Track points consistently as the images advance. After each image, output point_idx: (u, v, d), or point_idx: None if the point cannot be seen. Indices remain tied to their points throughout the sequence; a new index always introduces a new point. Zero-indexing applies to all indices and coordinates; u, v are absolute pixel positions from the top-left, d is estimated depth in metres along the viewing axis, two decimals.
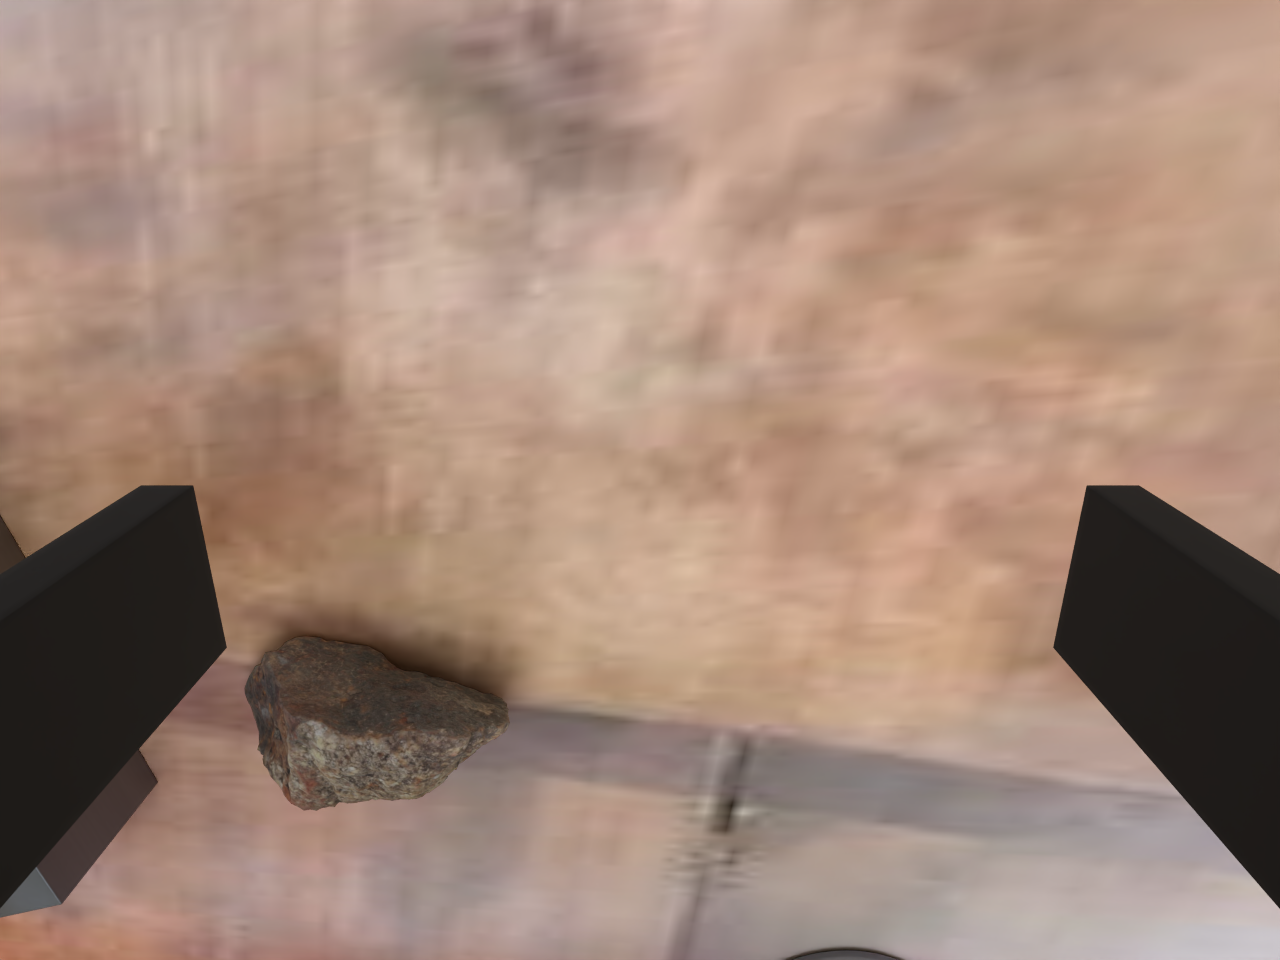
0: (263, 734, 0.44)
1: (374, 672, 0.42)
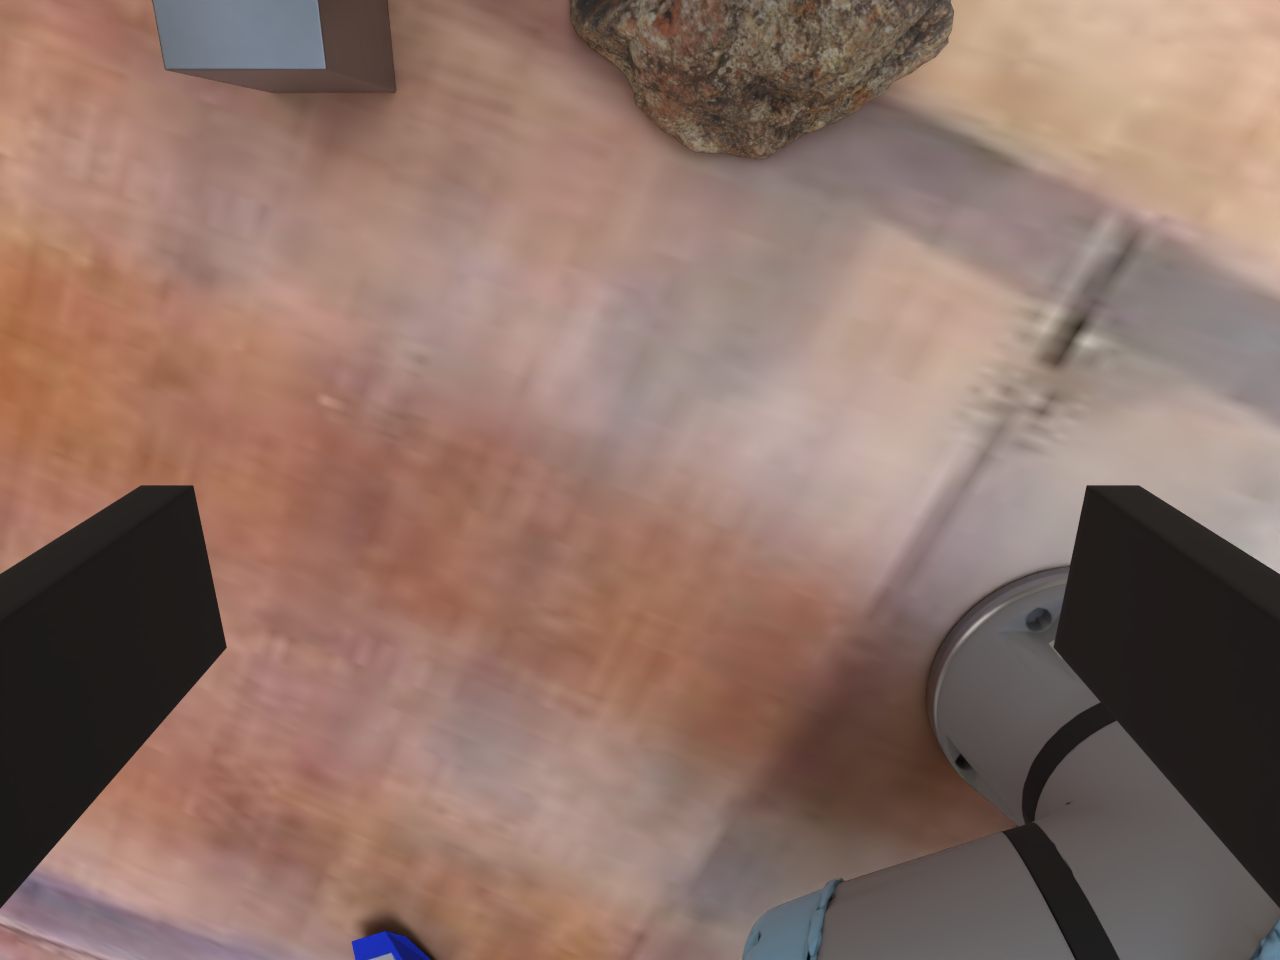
0: (601, 2, 0.33)
1: None
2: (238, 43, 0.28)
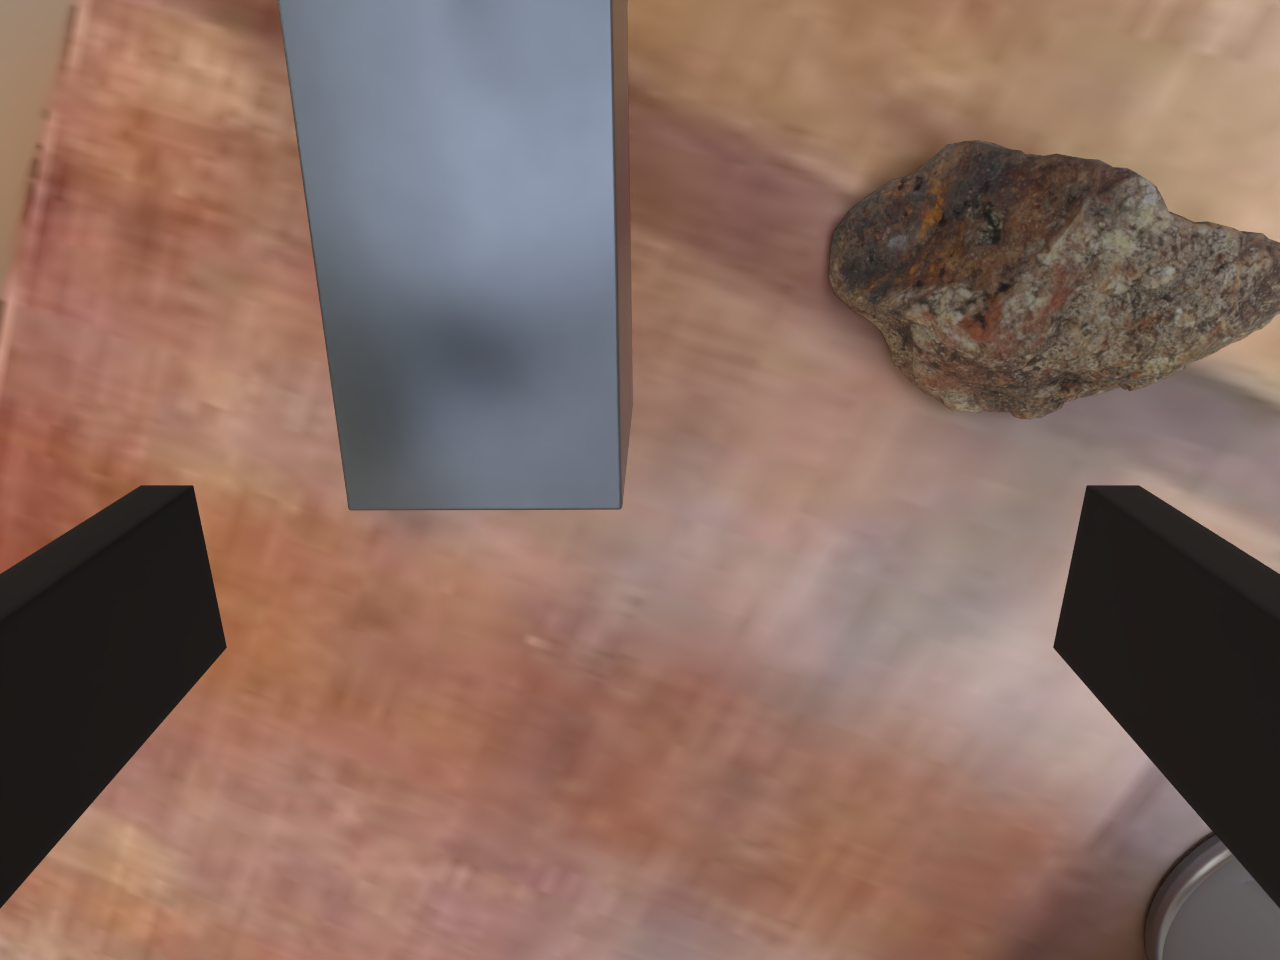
0: (877, 277, 0.31)
1: None
2: (476, 472, 0.16)
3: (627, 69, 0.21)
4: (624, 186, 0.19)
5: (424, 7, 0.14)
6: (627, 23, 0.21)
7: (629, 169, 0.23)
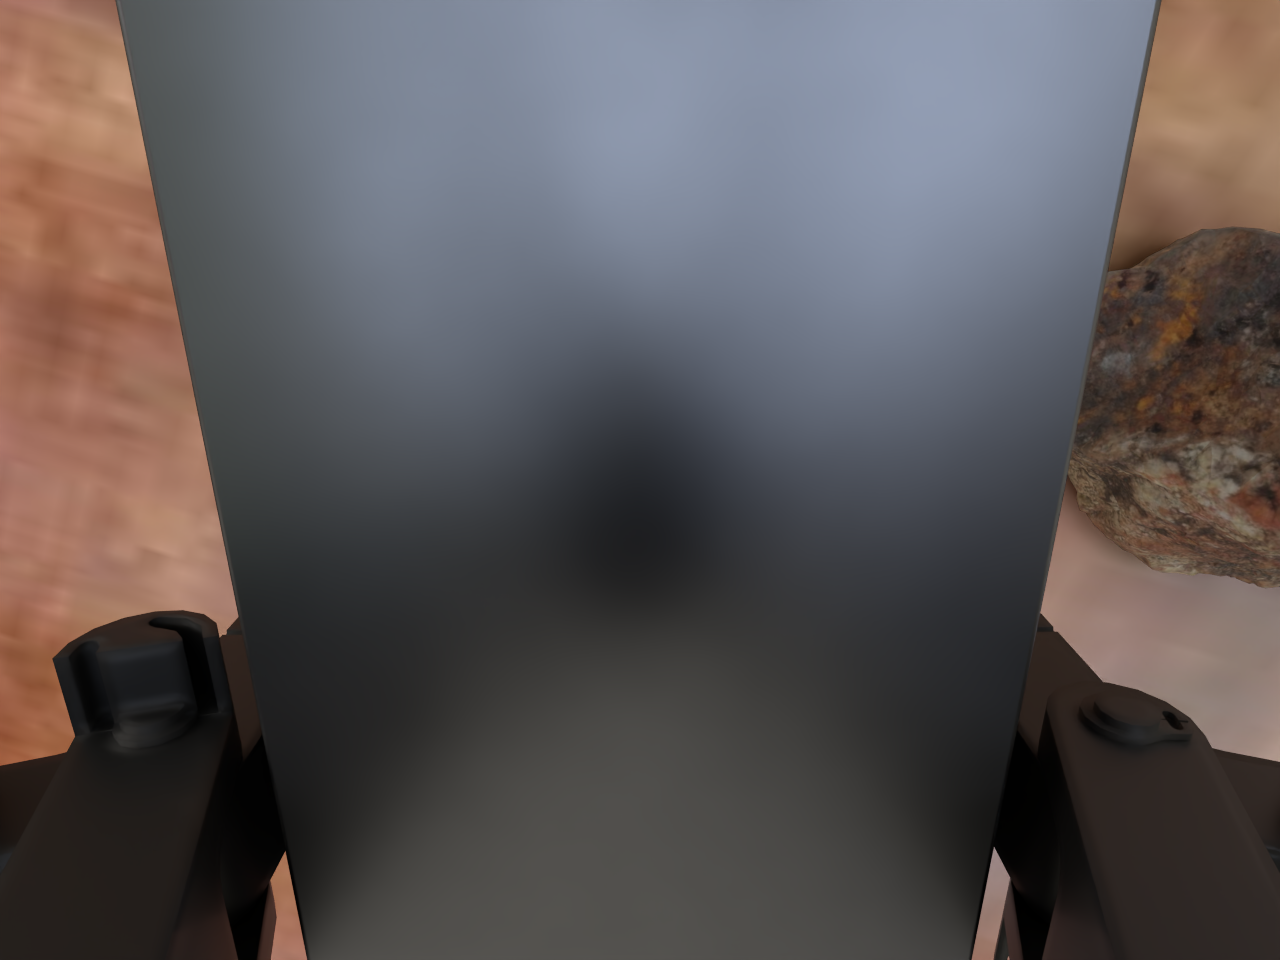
0: (1084, 408, 0.22)
1: None
2: None
3: None
4: None
5: (580, 162, 0.05)
6: None
7: None
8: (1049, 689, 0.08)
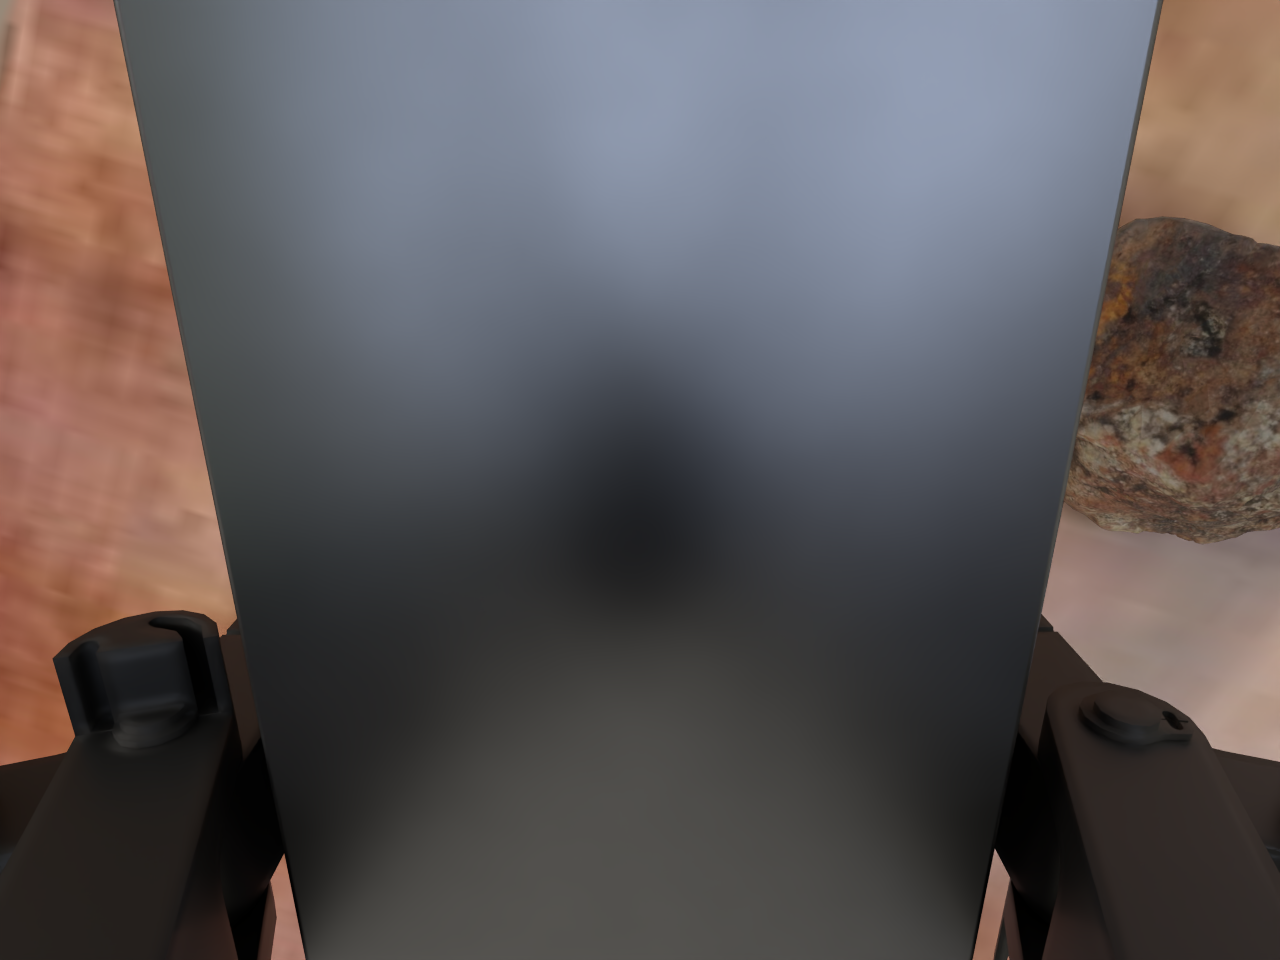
0: None
1: None
2: None
3: None
4: None
5: (580, 160, 0.05)
6: None
7: None
8: (1049, 689, 0.08)
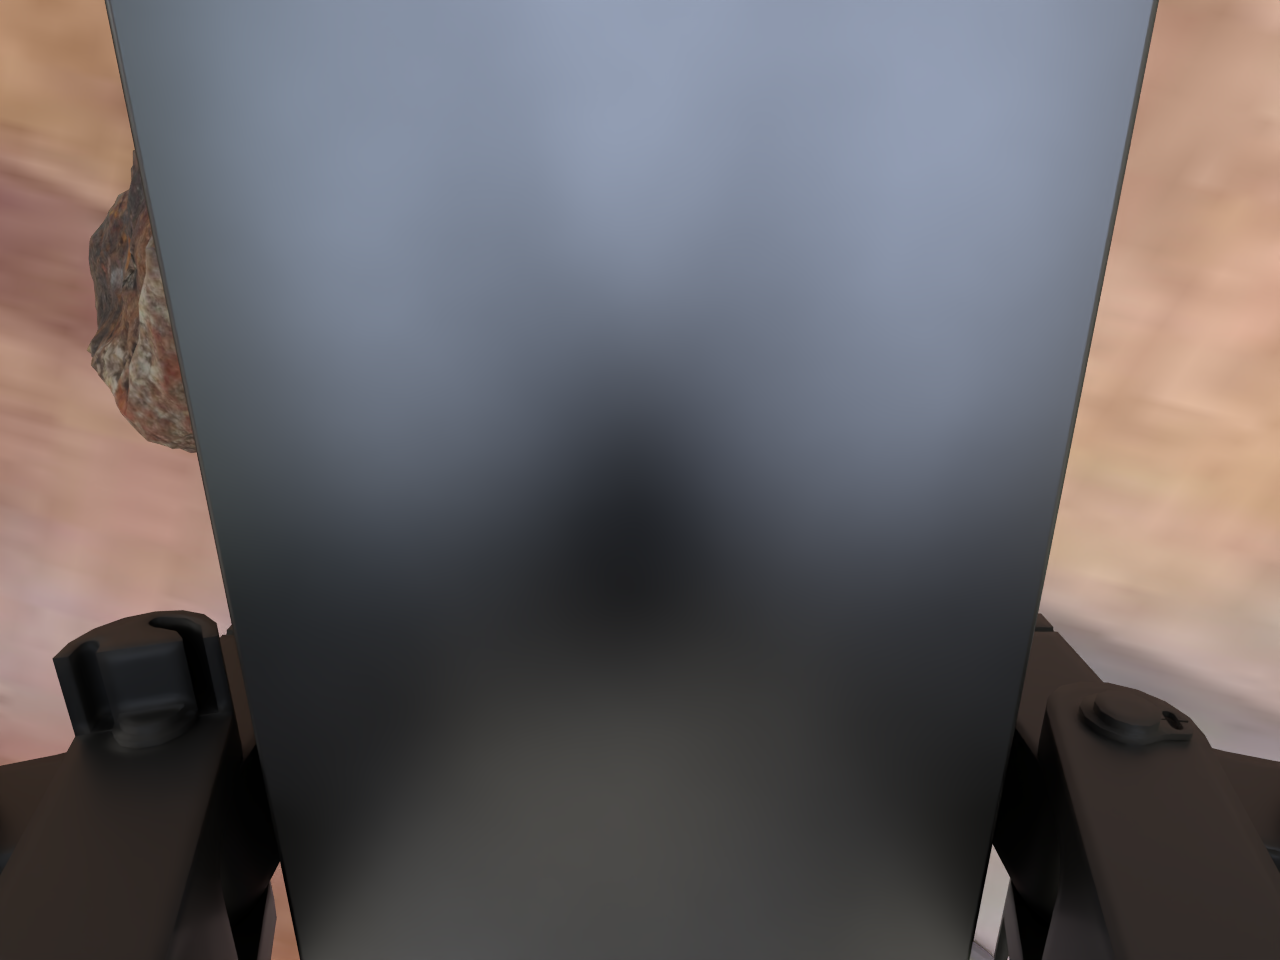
0: (104, 321, 0.24)
1: None
2: None
3: None
4: None
5: (572, 150, 0.05)
6: None
7: None
8: (1049, 689, 0.08)
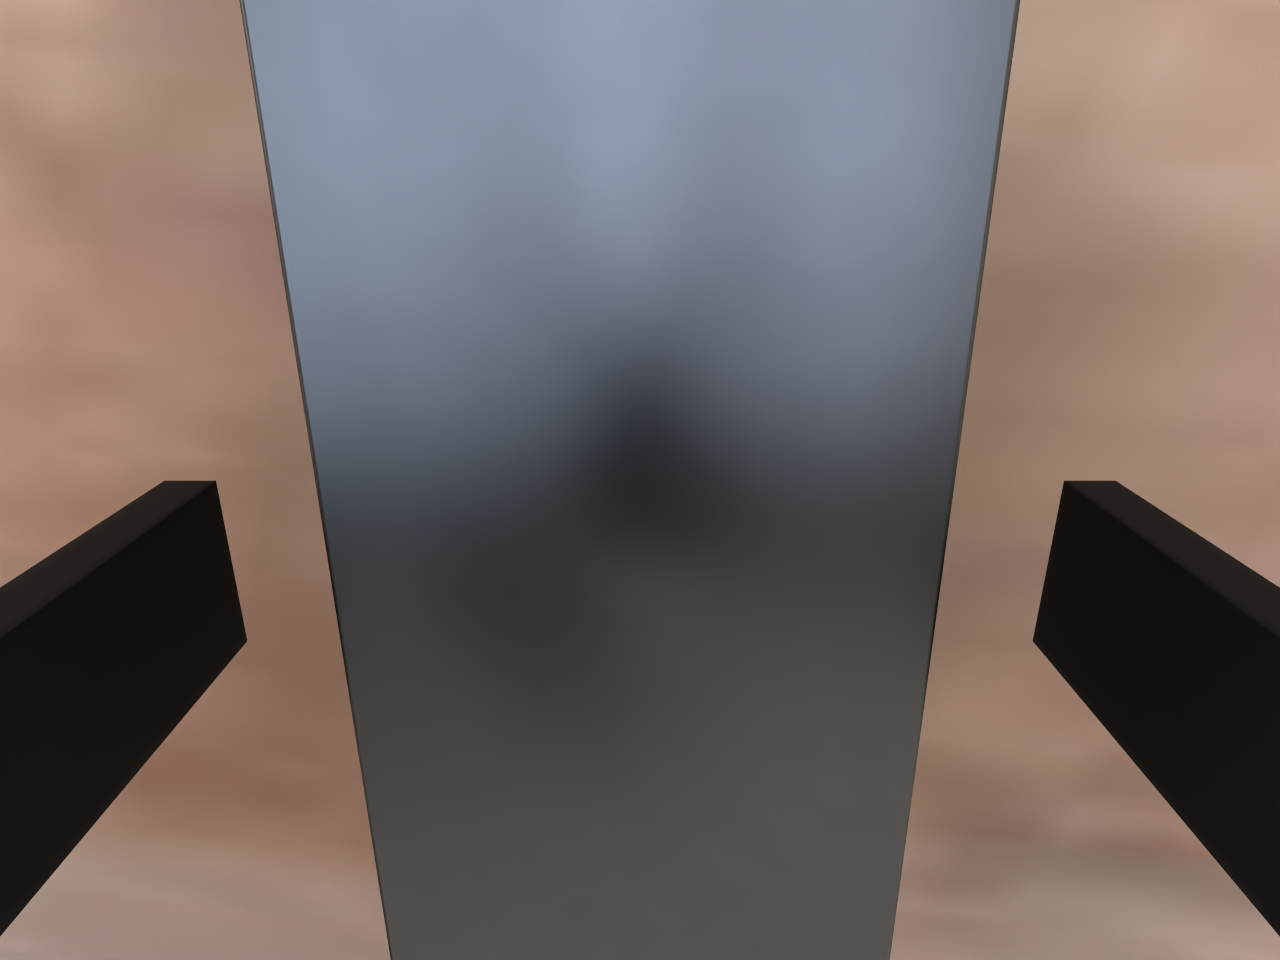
0: None
1: None
2: (630, 950, 0.09)
3: None
4: None
5: (588, 156, 0.06)
6: None
7: None
8: None
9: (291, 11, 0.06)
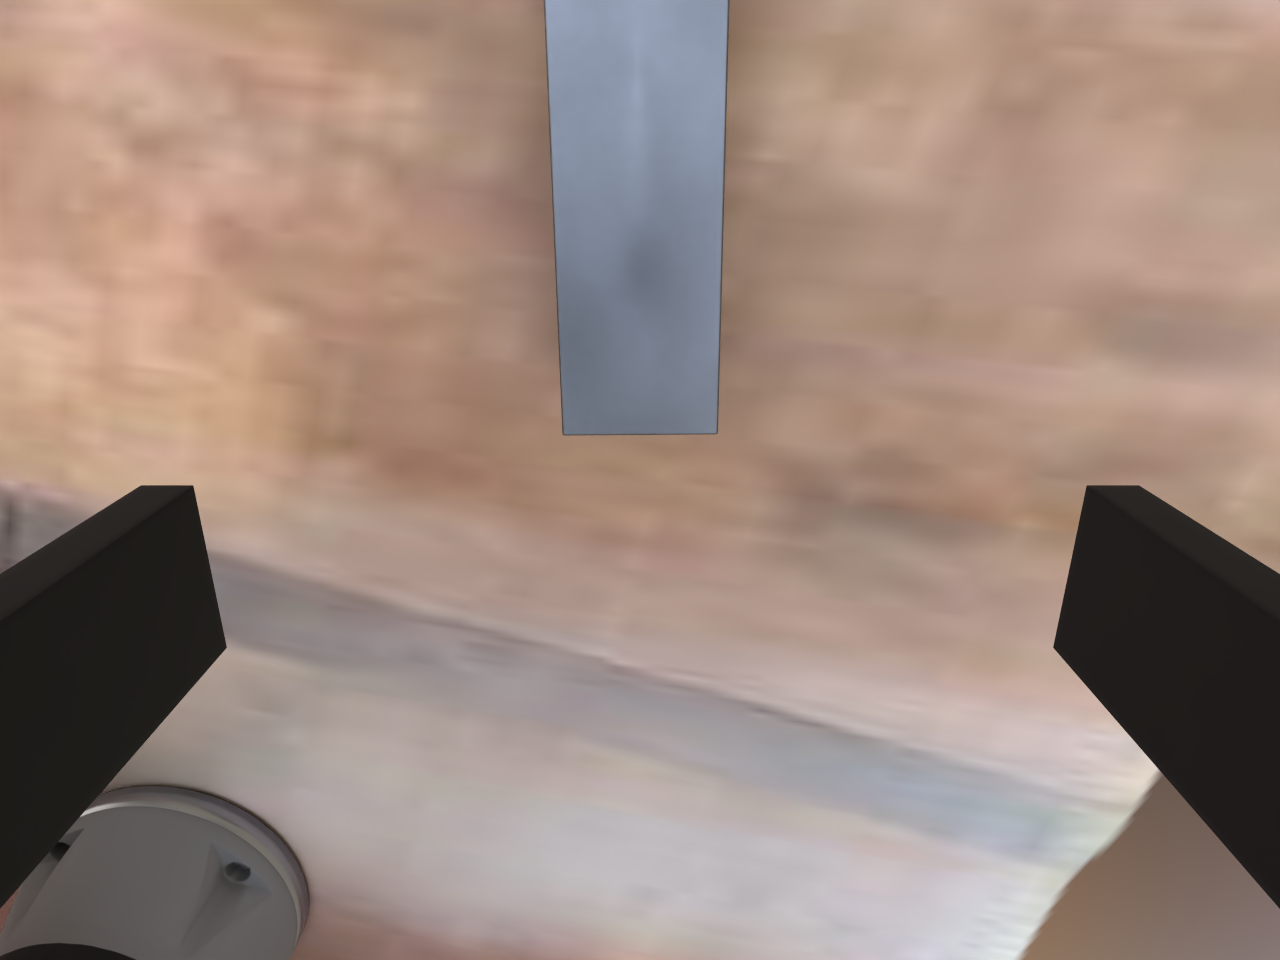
0: None
1: None
2: (636, 413, 0.29)
3: None
4: None
5: (627, 167, 0.27)
6: None
7: None
8: None
9: (561, 135, 0.26)
